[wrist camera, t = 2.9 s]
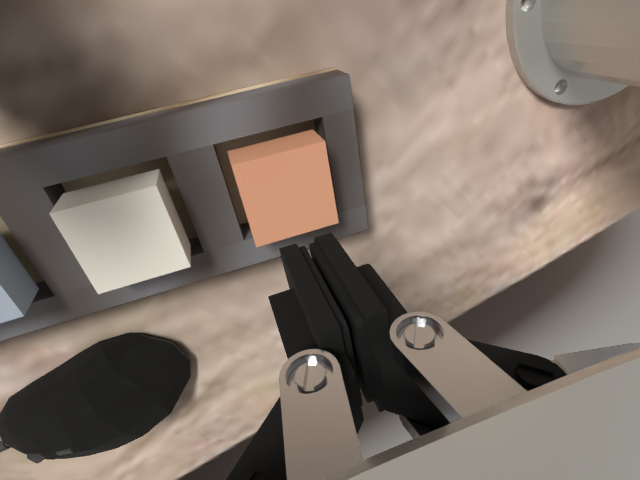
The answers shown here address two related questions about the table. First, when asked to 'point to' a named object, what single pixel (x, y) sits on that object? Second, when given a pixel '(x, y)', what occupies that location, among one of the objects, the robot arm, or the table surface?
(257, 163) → the key terracotta
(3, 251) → the key slate
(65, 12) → the table surface
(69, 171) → the keypad
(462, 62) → the table surface
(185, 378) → the gaming mouse
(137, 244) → the key ivory
